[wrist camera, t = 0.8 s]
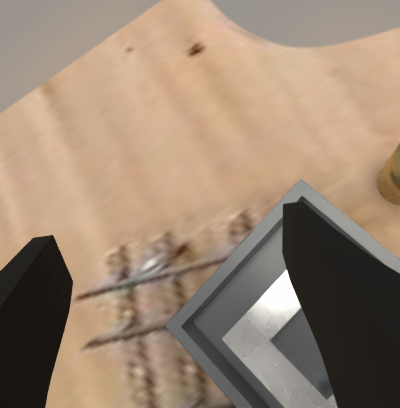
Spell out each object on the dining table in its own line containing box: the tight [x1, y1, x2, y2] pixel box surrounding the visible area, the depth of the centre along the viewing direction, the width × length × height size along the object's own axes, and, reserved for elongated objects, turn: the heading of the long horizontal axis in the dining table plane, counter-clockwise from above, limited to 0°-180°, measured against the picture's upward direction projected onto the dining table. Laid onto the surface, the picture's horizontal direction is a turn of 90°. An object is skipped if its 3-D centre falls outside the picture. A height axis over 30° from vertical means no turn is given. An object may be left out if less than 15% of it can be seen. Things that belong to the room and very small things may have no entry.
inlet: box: [222, 270, 337, 408], centre depth 24 cm, size 9×9×2 cm
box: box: [165, 179, 400, 408], centre depth 25 cm, size 16×14×4 cm
